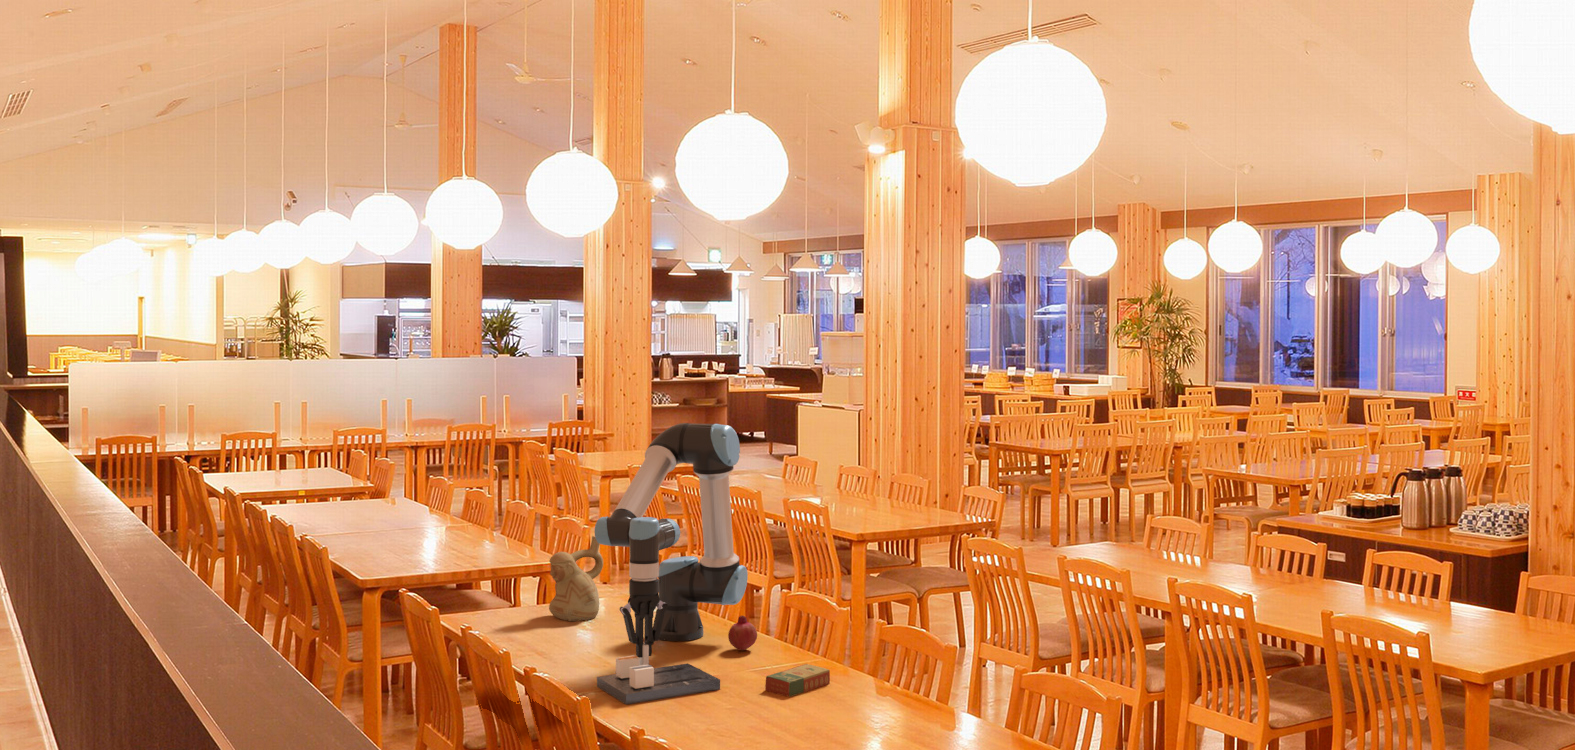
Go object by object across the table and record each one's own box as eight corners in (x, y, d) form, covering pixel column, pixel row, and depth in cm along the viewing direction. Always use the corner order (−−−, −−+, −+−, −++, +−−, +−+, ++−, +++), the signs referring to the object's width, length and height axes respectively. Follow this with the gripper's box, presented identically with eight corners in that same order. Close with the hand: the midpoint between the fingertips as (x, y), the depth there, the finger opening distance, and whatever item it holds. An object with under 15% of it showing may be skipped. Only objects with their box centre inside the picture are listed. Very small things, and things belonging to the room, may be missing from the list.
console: (687, 672, 339) (688, 662, 339) (720, 689, 324) (720, 679, 323) (597, 686, 325) (597, 676, 325) (626, 704, 310) (626, 693, 310)
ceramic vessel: (536, 617, 402) (535, 538, 401) (588, 608, 415) (588, 532, 414) (565, 627, 389) (565, 545, 388) (618, 617, 403) (618, 538, 402)
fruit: (734, 655, 357) (734, 619, 357) (724, 648, 364) (724, 613, 364) (761, 652, 360) (761, 617, 360) (750, 645, 368) (750, 611, 367)
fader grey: (647, 682, 319) (647, 663, 319) (653, 685, 316) (653, 667, 316) (629, 685, 317) (629, 666, 316) (635, 688, 314) (635, 669, 313)
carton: (830, 685, 329) (830, 668, 329) (789, 698, 317) (789, 681, 317) (805, 678, 335) (806, 662, 335) (764, 691, 323) (764, 675, 323)
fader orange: (633, 672, 328) (633, 654, 328) (639, 675, 325) (639, 657, 325) (615, 675, 325) (615, 657, 325) (621, 678, 322) (621, 660, 322)
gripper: (660, 573, 333) (660, 662, 334) (614, 578, 327) (614, 669, 327) (673, 578, 327) (673, 669, 328) (626, 583, 320) (626, 676, 321)
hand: (643, 669), depth 328 cm, fingers closed
